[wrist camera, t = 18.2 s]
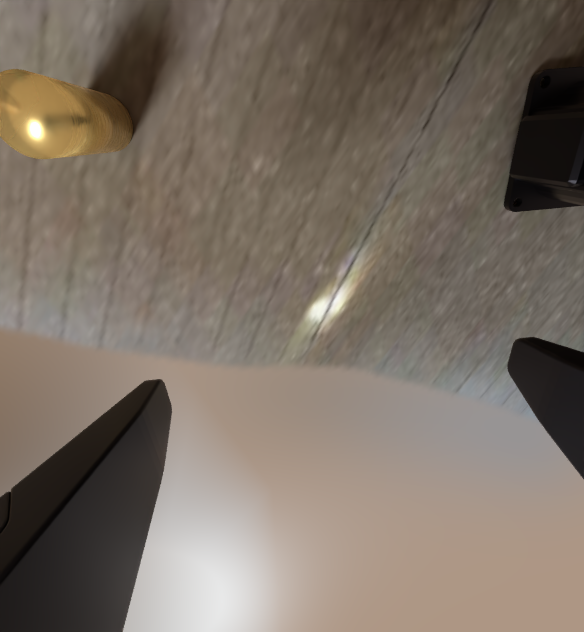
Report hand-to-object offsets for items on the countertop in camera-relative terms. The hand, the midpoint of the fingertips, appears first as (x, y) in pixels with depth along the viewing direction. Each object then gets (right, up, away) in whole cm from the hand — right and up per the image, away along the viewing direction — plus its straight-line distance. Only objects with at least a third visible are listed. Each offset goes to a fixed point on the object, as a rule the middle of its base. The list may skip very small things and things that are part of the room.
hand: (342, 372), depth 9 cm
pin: (-10, +10, +7) cm, 16 cm away
